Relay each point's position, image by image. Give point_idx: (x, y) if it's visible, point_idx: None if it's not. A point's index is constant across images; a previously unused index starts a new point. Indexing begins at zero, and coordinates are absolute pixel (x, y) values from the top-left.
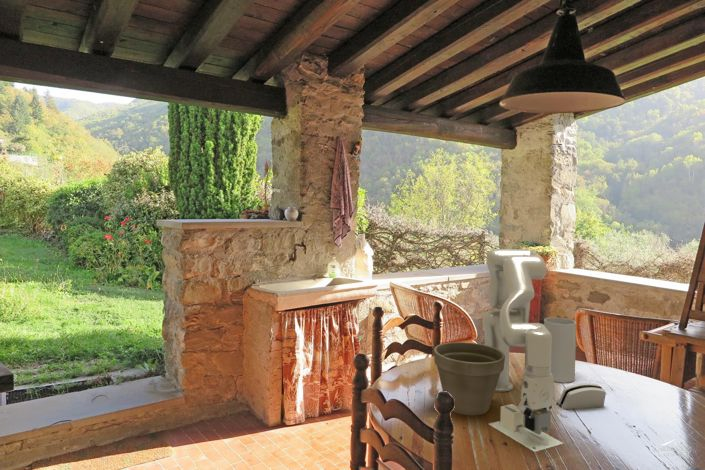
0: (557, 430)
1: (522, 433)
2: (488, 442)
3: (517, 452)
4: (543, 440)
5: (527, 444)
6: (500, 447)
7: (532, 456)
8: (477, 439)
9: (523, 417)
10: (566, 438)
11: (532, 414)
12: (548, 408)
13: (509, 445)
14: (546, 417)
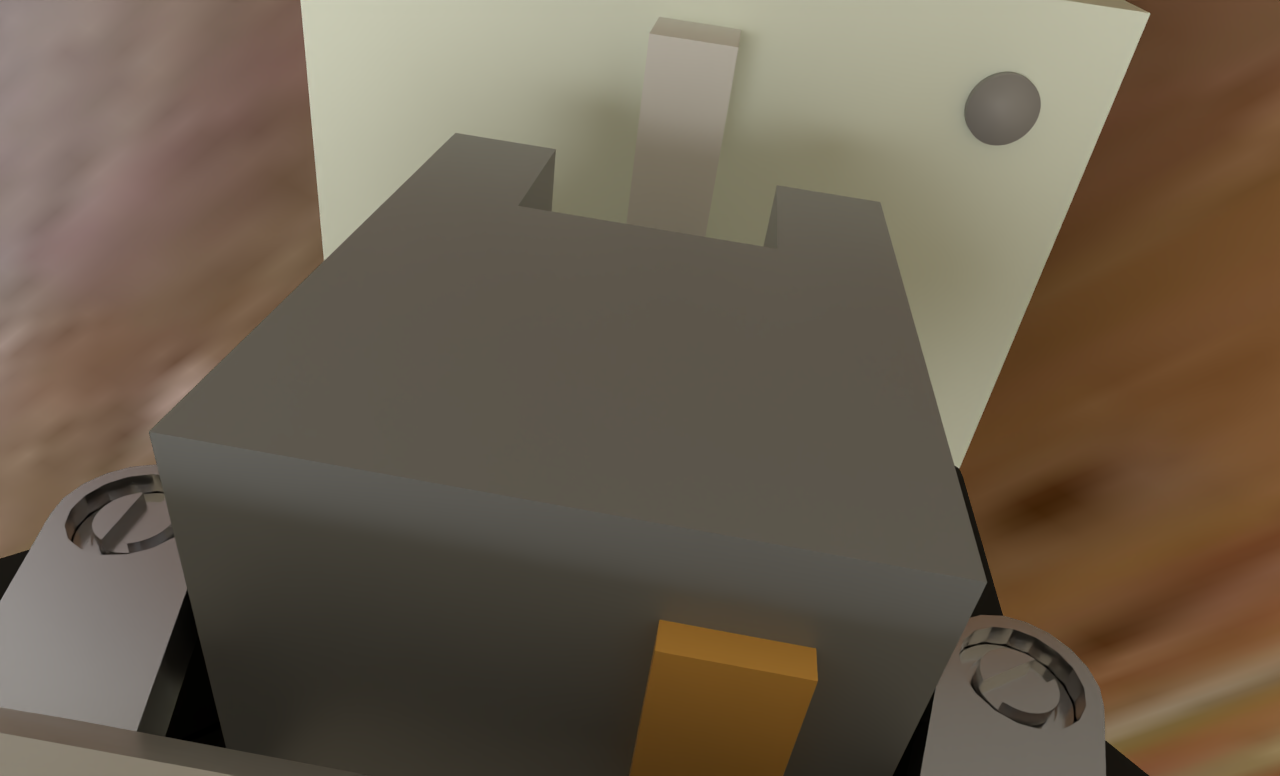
0: (26, 297)
1: None
2: (1196, 628)
3: (1210, 254)
4: (687, 126)
5: (951, 268)
6: (1230, 481)
7: (1170, 6)
8: (1215, 726)
9: None
10: (47, 61)
11: (1003, 737)
12: (39, 638)
13: (1062, 442)
14: (495, 368)
